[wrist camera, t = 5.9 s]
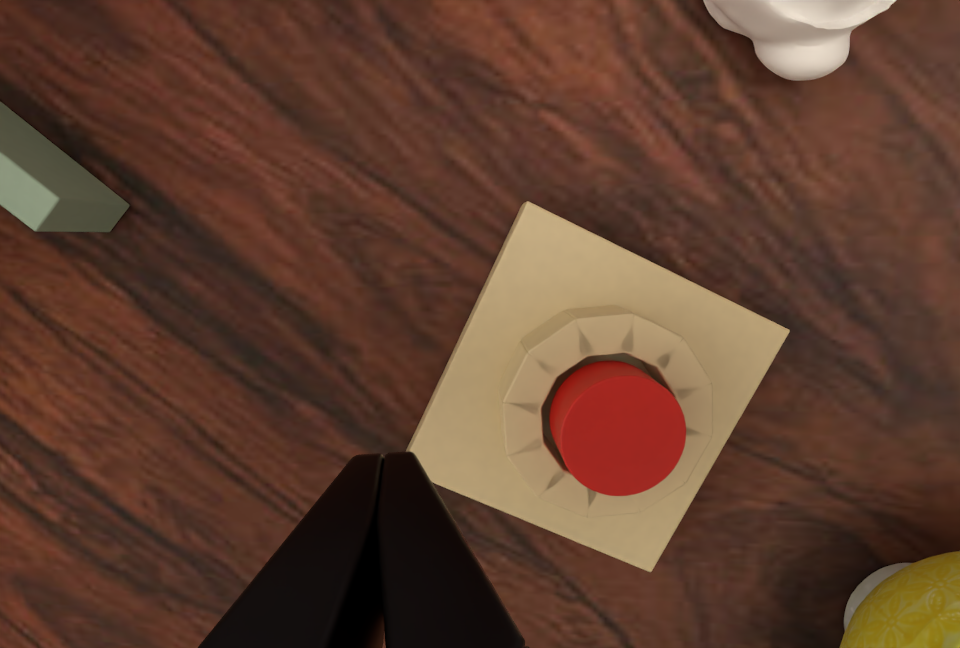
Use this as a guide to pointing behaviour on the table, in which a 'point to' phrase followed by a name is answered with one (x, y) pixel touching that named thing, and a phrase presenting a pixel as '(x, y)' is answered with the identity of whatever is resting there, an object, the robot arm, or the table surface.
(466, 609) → the robot arm
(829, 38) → the rabbit figurine
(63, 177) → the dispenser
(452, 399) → the button box
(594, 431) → the button
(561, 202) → the table surface
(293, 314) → the table surface
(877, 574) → the bowl
